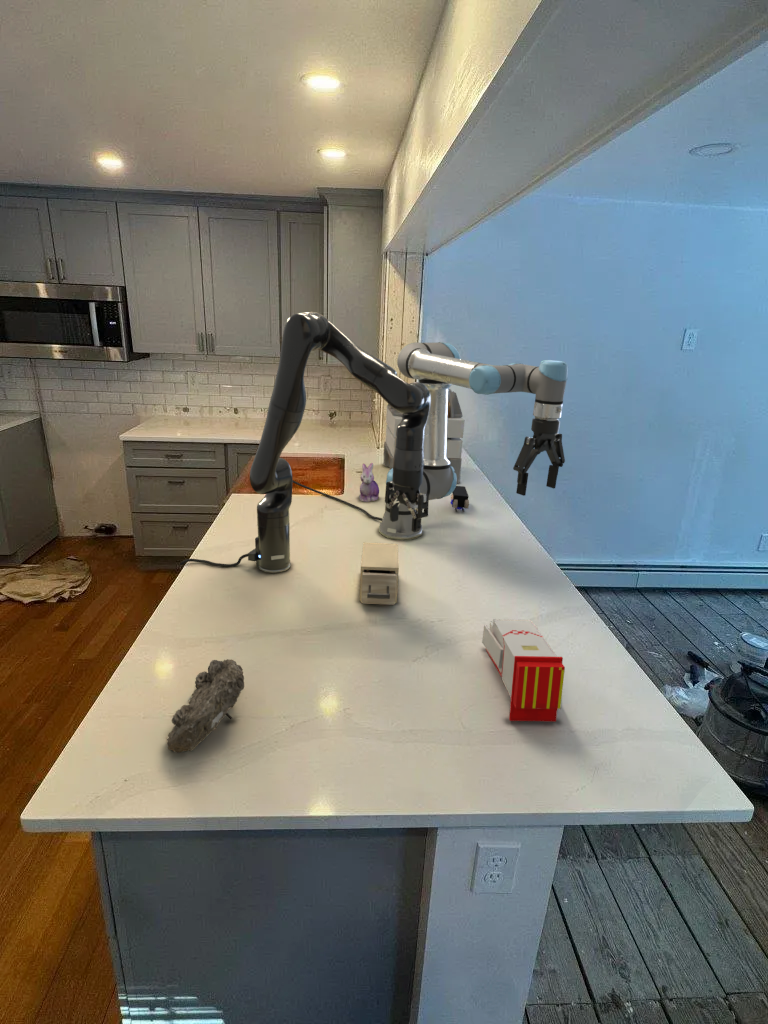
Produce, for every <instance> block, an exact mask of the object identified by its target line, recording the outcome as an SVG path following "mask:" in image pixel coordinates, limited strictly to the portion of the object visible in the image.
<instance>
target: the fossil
mask: <svg viewBox="0 0 768 1024" xmlns="http://www.w3.org/2000/svg"><path fill="white" fill-rule="evenodd" d="M243 670H244V669H243V667H242V665H240V664H237V662H236V661H235V660H234V659H232V658H231V659H227V658H226V659H224V660H223V661H222V660H217V659H212V660H211V661H210V663H209V665H208V666H207V671H201V672H199V673H198V674H197V675H196V676H195V680H194V684H195V685H194V687H195V689H194V690H193V693H192V694H191V697H190V698H189V700H188V704H184V705H182V706H181V707H180V709H177V710H176V711H175V713H174V715H173V716H172V718H171V723H172V724H173V727H172V730H171V731H170V732H168V734H167V738H166V741H167V742H166V745H167V749H168V750H169V751H173V752H174V753H176V754H178V753H182V752H188V751H189V752H192V751H193V750H195V748H196V747H197V746H199V744H200V743H201V742H203V741H204V740H205V739H206V738H207V737H208V736H209V735H210V734H211V733H212V732H214V730H215V729H217V727H218V726H219V724H220V722H221V721H222V720H223V719H224V718H225V716H226V717H227V719H229V720H233V717H232V715H230V714H229V710H230V709H231V708H234V706H235V704H236V703H237V702H238V699H239V697H240V695H241V693H242V691H243V690H245V689H244V688H245V675H244V671H243Z"/></svg>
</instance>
